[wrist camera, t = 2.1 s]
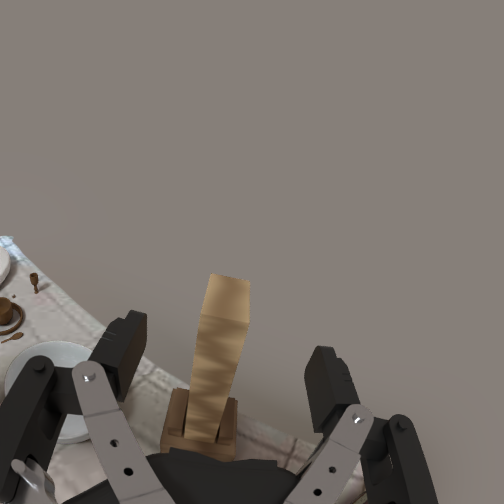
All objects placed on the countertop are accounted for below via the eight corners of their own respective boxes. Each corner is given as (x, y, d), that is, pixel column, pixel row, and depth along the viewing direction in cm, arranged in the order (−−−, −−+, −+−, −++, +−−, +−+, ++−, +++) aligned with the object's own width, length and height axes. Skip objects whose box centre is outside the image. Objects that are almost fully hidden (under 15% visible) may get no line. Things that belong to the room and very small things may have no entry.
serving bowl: (55, 476, 22) (39, 460, 19) (3, 387, 31) (-10, 363, 28) (144, 418, 39) (142, 397, 37) (80, 350, 48) (75, 326, 45)
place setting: (-19, 307, 44) (-25, 288, 42) (39, 289, 60) (36, 270, 58) (-9, 351, 36) (-17, 330, 34) (60, 325, 52) (56, 305, 50)
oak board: (184, 438, 30) (200, 313, 22) (190, 400, 37) (211, 273, 28) (213, 443, 31) (249, 323, 22) (217, 405, 37) (249, 281, 29)
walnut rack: (161, 464, 32) (159, 433, 28) (171, 417, 41) (173, 378, 37) (225, 475, 33) (239, 448, 29) (228, 427, 42) (240, 391, 38)
